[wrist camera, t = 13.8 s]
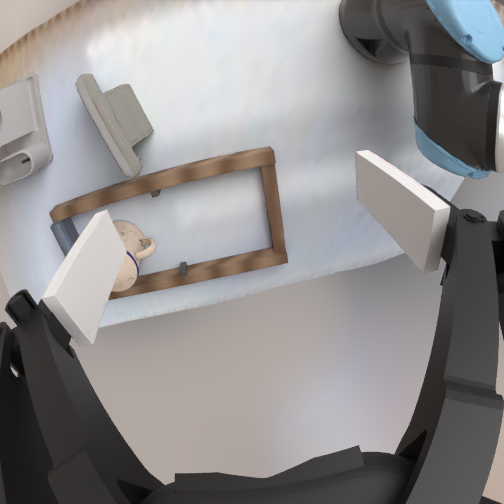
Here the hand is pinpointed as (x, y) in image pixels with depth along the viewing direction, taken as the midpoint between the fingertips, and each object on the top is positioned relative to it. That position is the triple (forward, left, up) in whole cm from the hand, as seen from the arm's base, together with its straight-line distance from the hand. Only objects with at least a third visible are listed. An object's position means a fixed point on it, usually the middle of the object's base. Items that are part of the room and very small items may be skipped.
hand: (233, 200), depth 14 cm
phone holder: (+33, -10, -32) cm, 47 cm away
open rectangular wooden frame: (+12, +17, -31) cm, 37 cm away
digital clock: (+15, -4, -32) cm, 35 cm away
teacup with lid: (+20, +17, -32) cm, 41 cm away
